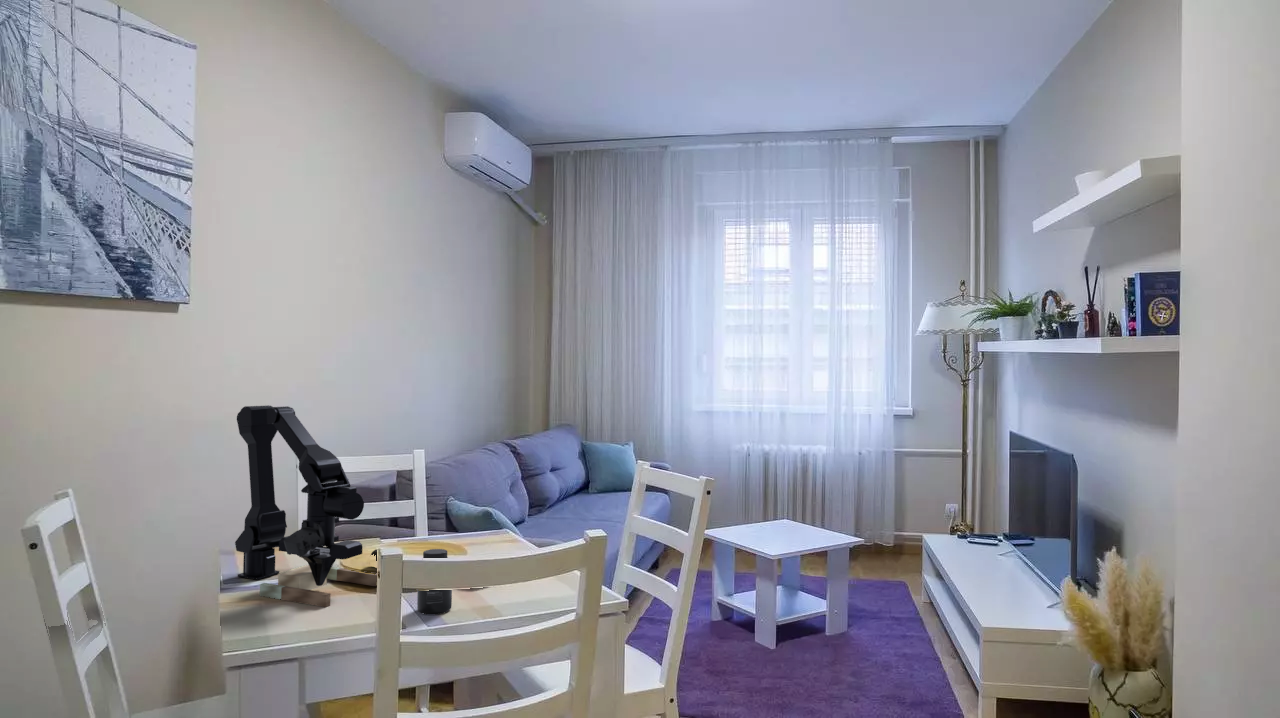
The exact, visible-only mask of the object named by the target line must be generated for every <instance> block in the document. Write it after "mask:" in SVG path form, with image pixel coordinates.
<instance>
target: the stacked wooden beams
mask: <svg viewBox="0 0 1280 718" xmlns="http://www.w3.org/2000/svg"><path fill="white" fill-rule="evenodd" d="M348 569H349V568H348ZM348 569H347V568H342V567H341V568H340V567H334V566H332V567H331V569H330V571H329V573H328V575H327V580H331V581H339V582H343V583H345V582H346V583H352V584H358V585H363V586H364V585H366V586H372V587H377V586H376V582H377V573H376V572H375V573H376V574H375V575H374V574H365V573H359V572H356V571H351V570H352V569H350V570H348ZM331 594H332V593H331V592H324V591H319V590H314V589H312V590H307V589H300V588H294V587H288V586H281V585H278V584H274V583H267V582H263V583H260V584H259V596H260V597H263V596H265V597H264V598H269V597H270V599H274V598H275V599H276V600H280V599H281V601H287V602H293V603H300V604H306V605H310V606H317V607H323V608H327V607H330V606H331Z"/></svg>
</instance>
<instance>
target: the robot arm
mask: <svg viewBox="0 0 1280 718" xmlns="http://www.w3.org/2000/svg"><path fill="white" fill-rule="evenodd" d="M236 422H237V427H238V432H239V433H238V434H239V435H240V437H241V438H242V439H243V440H244V442H245V443H246V445H247V454H248V469H249V487H250V502H251V507H250V509H249V511H248V513H246V514H247V515H246V516H245V518H244V528H243V529H244V530H243V531H242V532H241V533H240V534H239V536H238V537H237V538H236V540H235V542H234V545H235V549H236V551H237V552H239V553H243V564H242V567H243V568H242V569H243V570H242V572H240V573H238V574H237V575H236V577H238V578H243V579H250V580H258V581H259V580H262V579H264V578H268V577H271V576H274V575H278V573H280V570H278V569H277V570H276V554H275V552H276V551H275V548H278V551H279V552H285V553H286V554H287V555H295V556H296V555H297V557H299V558H301V559H303V560H304V561H306V562H307V565H309V566H310V569H311V571H312V574H313V577H314V580H315V583H316V585H317V586H321V585H323V583H324V581H325V579H326V577H327V575H328V573H329V571H330V569H331V567H333V565H334V564H335V562H336V561H337V560H348V559H351V558H354V557H357V556H360V555H363V544H362V542H360V541H357V540H351V539H346V540H343V541H340V542H339V539H340V538H339V537H340V536H339V535H336V532H335V531H336V524H337V523H340V519H344V520H350V521H351V520H355V519H357V518H358V517H360V516H361V514H362V513H363V510H364V507H365V502H364V500H363V496H361V494H359V493H358V492H357V489H358V488H357V486H351V483H350V481H349V477H347V475H346V473H345V471H344V469H343V466H342V462H341V461H340V459H339V458H338V457H337V456H336V455H335V454H334V453H332V452H331V451H330V450H328V449H326V448H324V447H322V446H320V444H318V443H317V442H316V440H315V439H314V438H313V436H312V435H311V433H309V431H308V430H307V428H306V427H305V426H304V425H303V423H302V422H301V420H300V419H299V418H298V416H297V415H296V411H295V409H294V408H293V407H291V406H289V405H288V406H272V405H245V406H243V407H241V408H240V411H239V412H238V413H237V416H236ZM277 432H278V433H279V435H280V437H282V439H283V440H284V441H285V442H286V444H287V445H288V447H289V448H290V449H291V451H292V452H293V453H294V455H295V456H296V458H297V459H298V470H299V473H300V474H301V476H302V478H303V480H304V482H305V483H306V485H305V486H303V488H302V489H301V490H300V491H301V493H303V494H307V506H306V508H307V509H306V519H302V522H301V527H300V529H298V530H296V531H294V532H293V533H292V534H290V535H288V536H285V535H286V532H287V528H288V525H287V521H286V520H287V516H286V515H287V514H286V511H285V510H284V509H282V510H281V509H280V508H279V507H278V506H277V504H276V497H275V496H276V495H275V492H276V491H275V477H274V463H273V449H272V447H273V446H272V443H273V442H272V441H273V440H274V438H275V436H276V434H277ZM321 587H322V586H321Z"/></svg>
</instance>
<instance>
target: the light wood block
mask: <svg viewBox="0 0 1280 718" xmlns="http://www.w3.org/2000/svg"><path fill="white" fill-rule="evenodd" d="M327 581H328V579H327V577H326V579H325V581H324V583H323V585H321V586H317V585H316V583H315V580H314V577H313V574H312V571H311V569H310V566H309V564H305V565H302V566H299V567H298V566H297V567H295V568H292V569H288V570H285V571H283V572H279V573H278V574H277V585H281V586H288V587H294V588H300V589H307V590H314V589H318V588H320V587H321V588H322V587H324V586H326V585H327Z"/></svg>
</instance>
